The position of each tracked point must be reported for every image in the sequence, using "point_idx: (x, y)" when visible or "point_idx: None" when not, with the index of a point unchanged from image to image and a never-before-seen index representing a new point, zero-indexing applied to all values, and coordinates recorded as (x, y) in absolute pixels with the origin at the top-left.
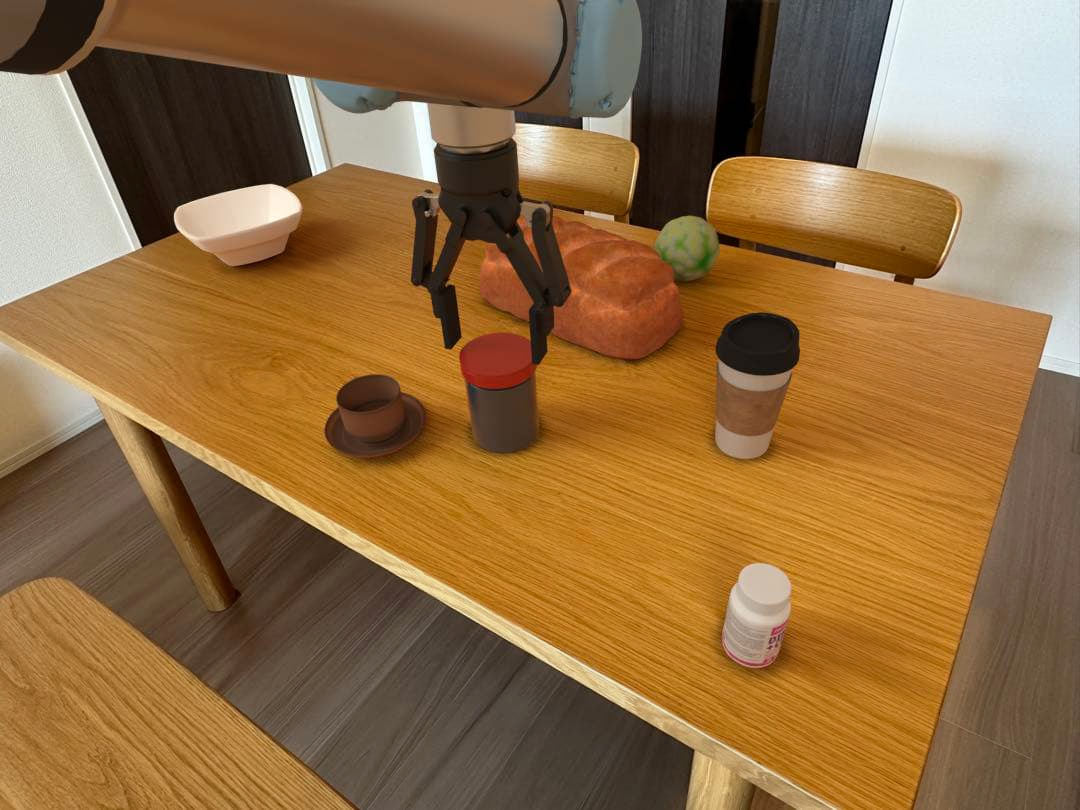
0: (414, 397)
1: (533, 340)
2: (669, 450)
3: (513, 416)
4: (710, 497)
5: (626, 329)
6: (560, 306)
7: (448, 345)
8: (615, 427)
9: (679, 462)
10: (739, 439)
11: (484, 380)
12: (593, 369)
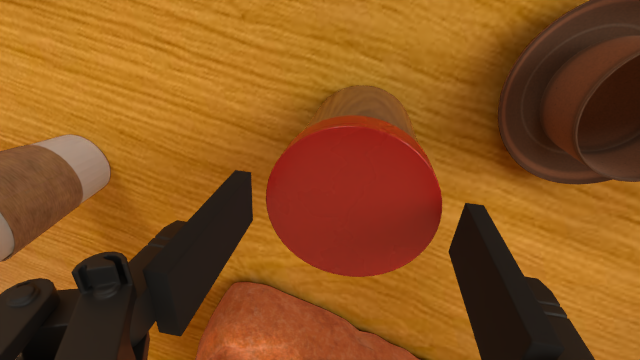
0: (531, 172)
1: (214, 205)
2: (145, 135)
3: (320, 112)
4: (70, 59)
5: (231, 318)
6: (32, 279)
7: (474, 209)
8: (220, 166)
9: (127, 115)
10: (45, 143)
11: (356, 121)
12: (282, 265)
